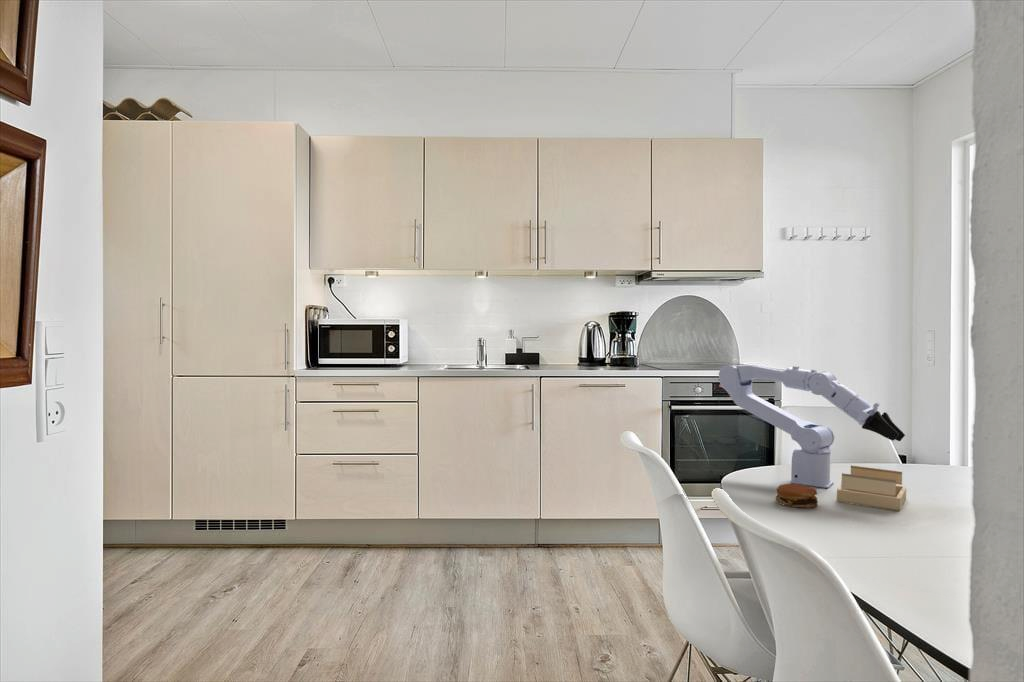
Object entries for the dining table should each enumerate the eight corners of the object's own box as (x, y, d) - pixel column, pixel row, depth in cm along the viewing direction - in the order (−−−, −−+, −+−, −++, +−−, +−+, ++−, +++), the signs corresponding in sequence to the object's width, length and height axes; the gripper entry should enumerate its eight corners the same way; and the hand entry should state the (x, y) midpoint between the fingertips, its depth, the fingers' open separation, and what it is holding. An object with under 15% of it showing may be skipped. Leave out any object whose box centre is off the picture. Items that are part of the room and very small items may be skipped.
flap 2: (841, 487, 162) (842, 473, 163) (841, 487, 163) (842, 473, 163) (895, 495, 155) (896, 480, 156) (895, 495, 156) (896, 480, 156)
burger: (770, 498, 166) (771, 479, 166) (808, 499, 165) (809, 481, 165) (783, 509, 156) (783, 490, 156) (824, 511, 155) (824, 491, 155)
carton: (836, 501, 163) (836, 489, 163) (846, 490, 174) (847, 478, 174) (899, 511, 155) (899, 498, 155) (906, 498, 166) (906, 486, 166)
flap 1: (902, 484, 166) (902, 471, 165) (902, 484, 166) (901, 472, 165) (851, 477, 173) (850, 465, 172) (850, 478, 173) (850, 465, 172)
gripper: (854, 390, 167) (904, 424, 159) (868, 394, 178) (915, 426, 170) (836, 411, 169) (884, 447, 161) (851, 414, 180) (897, 447, 172)
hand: (899, 438), depth 165 cm, fingers open, 7 cm apart
